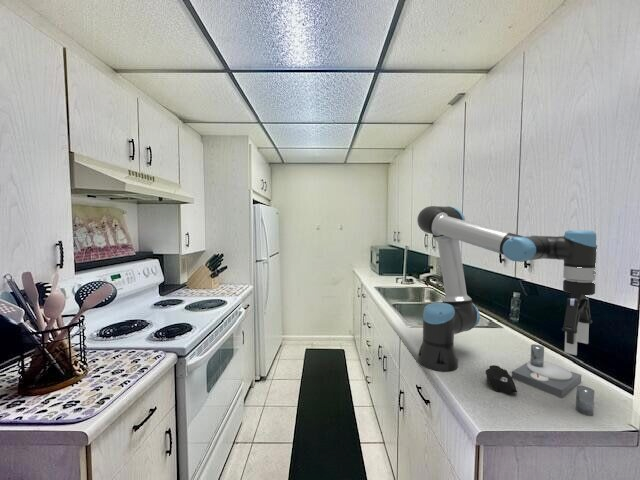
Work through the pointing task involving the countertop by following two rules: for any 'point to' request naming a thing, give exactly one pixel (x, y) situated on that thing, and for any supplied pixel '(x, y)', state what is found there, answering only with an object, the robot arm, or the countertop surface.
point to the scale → (547, 378)
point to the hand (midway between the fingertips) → (576, 347)
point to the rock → (500, 380)
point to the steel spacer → (585, 400)
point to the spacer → (537, 355)
